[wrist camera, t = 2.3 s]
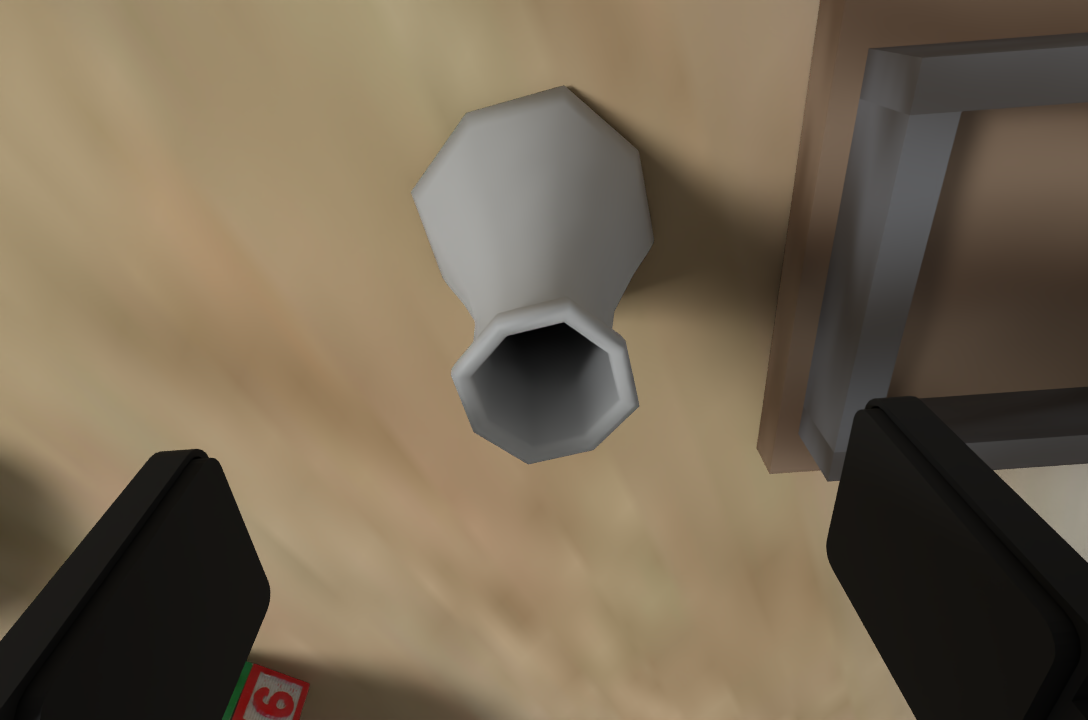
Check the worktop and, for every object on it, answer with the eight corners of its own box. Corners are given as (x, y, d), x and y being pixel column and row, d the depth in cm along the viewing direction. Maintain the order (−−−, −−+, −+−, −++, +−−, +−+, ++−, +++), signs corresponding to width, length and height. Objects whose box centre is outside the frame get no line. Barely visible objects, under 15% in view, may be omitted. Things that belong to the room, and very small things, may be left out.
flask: (574, 34, 17) (627, 81, 8) (690, 245, 20) (815, 435, 12) (369, 180, 19) (243, 342, 10) (506, 352, 22) (496, 585, 13)
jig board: (824, -31, 16) (905, -36, 13) (1362, -71, 16) (1588, -87, 13) (756, 448, 25) (795, 523, 21) (1113, 423, 24) (1210, 494, 21)
